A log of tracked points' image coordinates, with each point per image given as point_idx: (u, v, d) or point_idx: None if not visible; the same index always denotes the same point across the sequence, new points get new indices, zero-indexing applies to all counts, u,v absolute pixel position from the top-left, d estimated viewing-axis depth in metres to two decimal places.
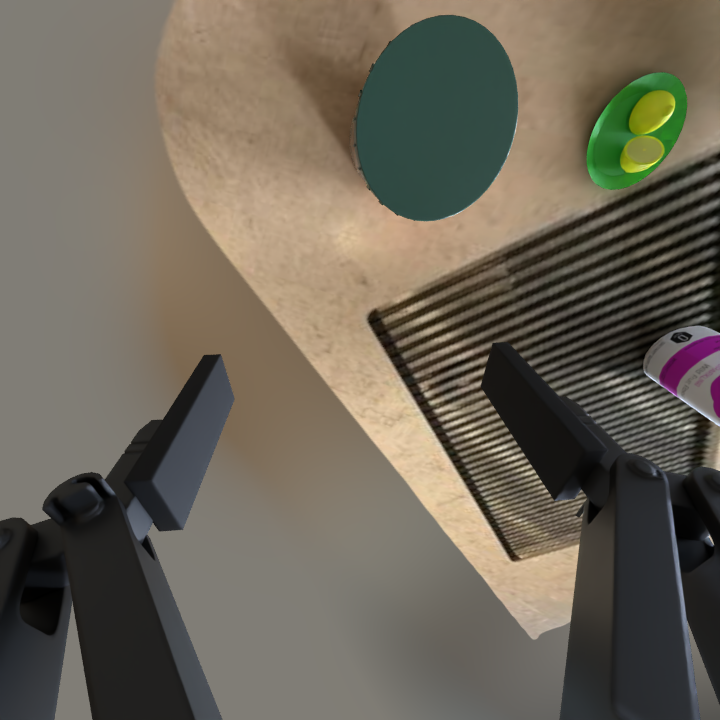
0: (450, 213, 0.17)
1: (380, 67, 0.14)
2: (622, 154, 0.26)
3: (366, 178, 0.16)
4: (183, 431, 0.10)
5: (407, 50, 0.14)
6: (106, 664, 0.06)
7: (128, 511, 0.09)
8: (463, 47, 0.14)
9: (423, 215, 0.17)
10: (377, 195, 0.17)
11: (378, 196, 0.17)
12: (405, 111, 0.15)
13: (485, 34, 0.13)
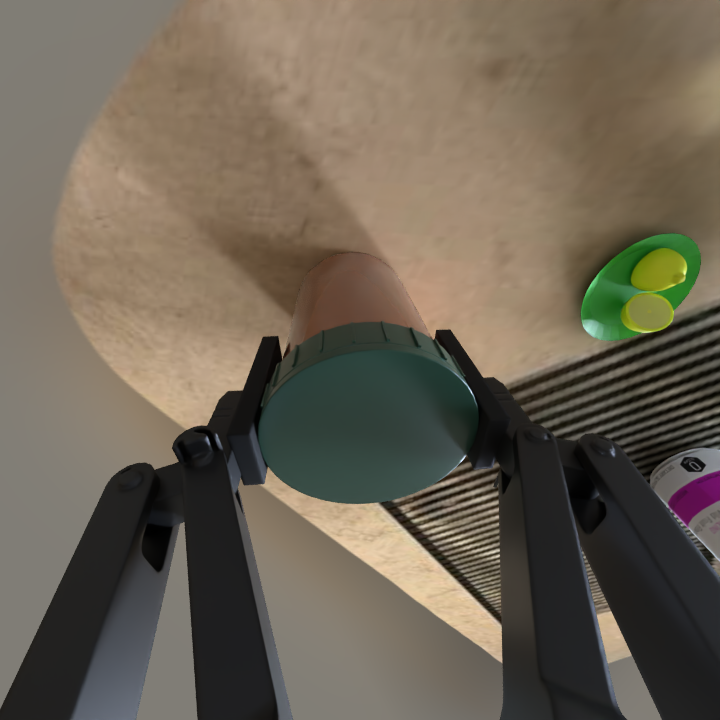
0: (399, 496, 0.13)
1: (280, 399, 0.10)
2: (623, 313, 0.22)
3: (283, 480, 0.12)
4: (262, 398, 0.12)
5: (315, 383, 0.10)
6: (205, 592, 0.06)
7: (229, 466, 0.10)
8: (395, 375, 0.10)
9: (364, 499, 0.13)
10: (300, 491, 0.13)
11: (302, 491, 0.13)
12: (323, 429, 0.11)
13: (425, 362, 0.09)
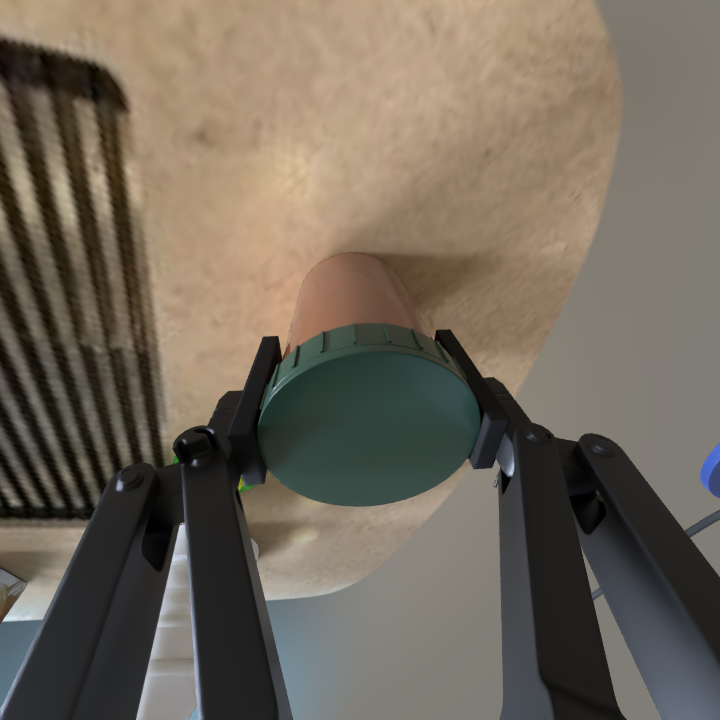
0: (399, 499, 0.13)
1: (280, 400, 0.10)
2: None
3: (282, 482, 0.12)
4: (262, 398, 0.12)
5: (315, 384, 0.09)
6: (205, 592, 0.06)
7: (229, 466, 0.10)
8: (396, 377, 0.10)
9: (364, 502, 0.13)
10: (299, 493, 0.13)
11: (301, 494, 0.13)
12: (323, 431, 0.11)
13: (426, 364, 0.09)
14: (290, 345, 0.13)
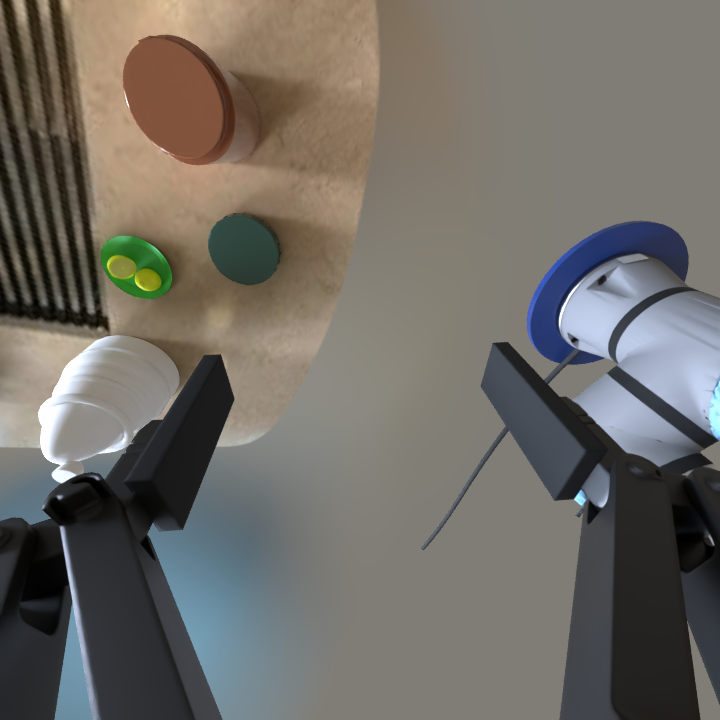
0: (260, 281, 0.39)
1: (213, 232, 0.35)
2: (127, 257, 0.37)
3: (218, 269, 0.38)
4: (183, 431, 0.10)
5: (222, 226, 0.35)
6: (106, 664, 0.06)
7: (128, 511, 0.09)
8: (244, 225, 0.35)
9: (248, 282, 0.39)
10: (225, 275, 0.38)
11: (225, 275, 0.38)
12: (228, 245, 0.36)
13: (251, 220, 0.35)
14: None
